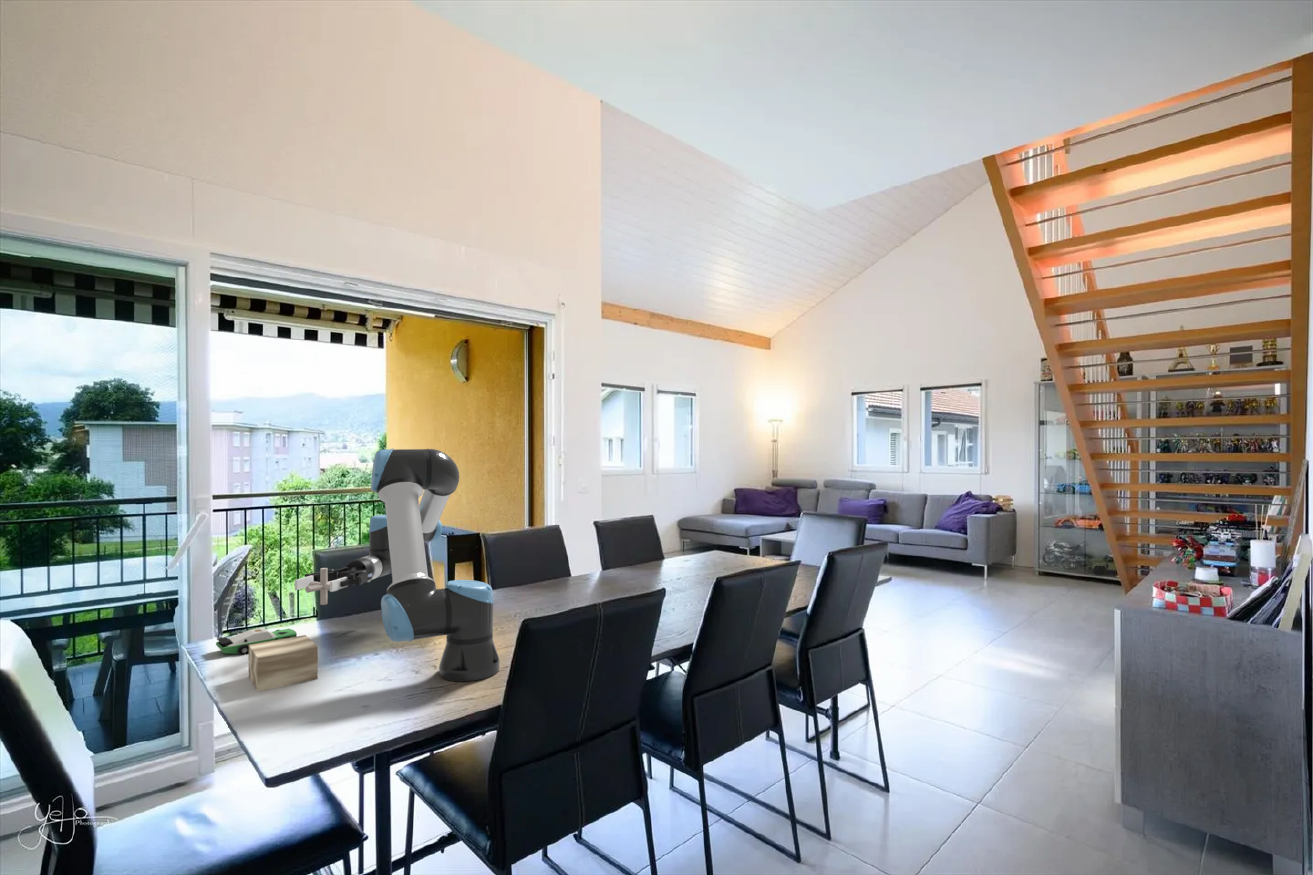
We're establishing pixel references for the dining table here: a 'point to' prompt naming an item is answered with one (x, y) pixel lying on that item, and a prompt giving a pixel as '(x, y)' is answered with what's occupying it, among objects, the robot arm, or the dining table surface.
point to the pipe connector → (320, 586)
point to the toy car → (251, 639)
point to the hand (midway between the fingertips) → (313, 585)
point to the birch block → (282, 662)
